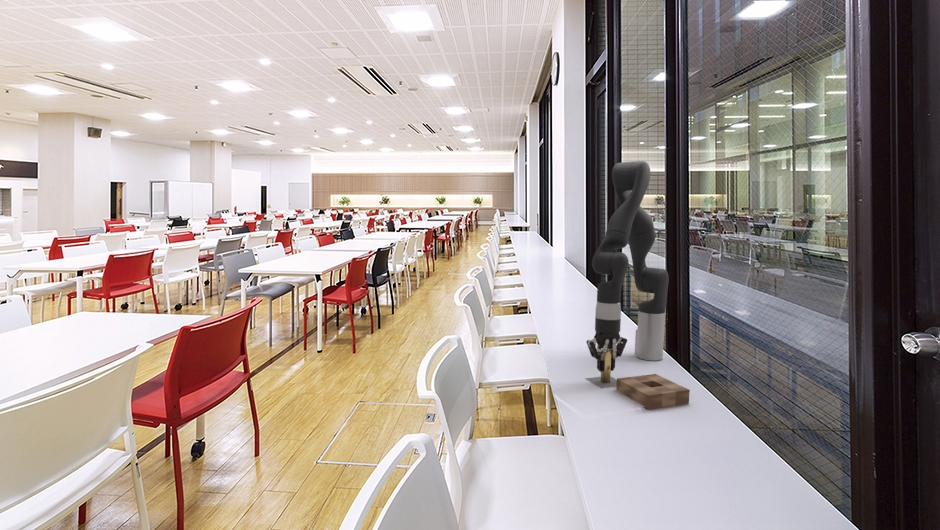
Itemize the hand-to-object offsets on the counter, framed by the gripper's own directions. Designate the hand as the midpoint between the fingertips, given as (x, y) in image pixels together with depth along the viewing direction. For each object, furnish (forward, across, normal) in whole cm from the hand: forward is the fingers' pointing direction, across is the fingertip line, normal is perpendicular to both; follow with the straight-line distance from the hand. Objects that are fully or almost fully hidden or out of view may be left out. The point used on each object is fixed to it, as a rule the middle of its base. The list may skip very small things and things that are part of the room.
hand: (605, 370), depth 151 cm
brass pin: (+4, 0, 0) cm, 4 cm away
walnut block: (+4, -6, +14) cm, 16 cm away
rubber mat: (+4, 0, 0) cm, 4 cm away
